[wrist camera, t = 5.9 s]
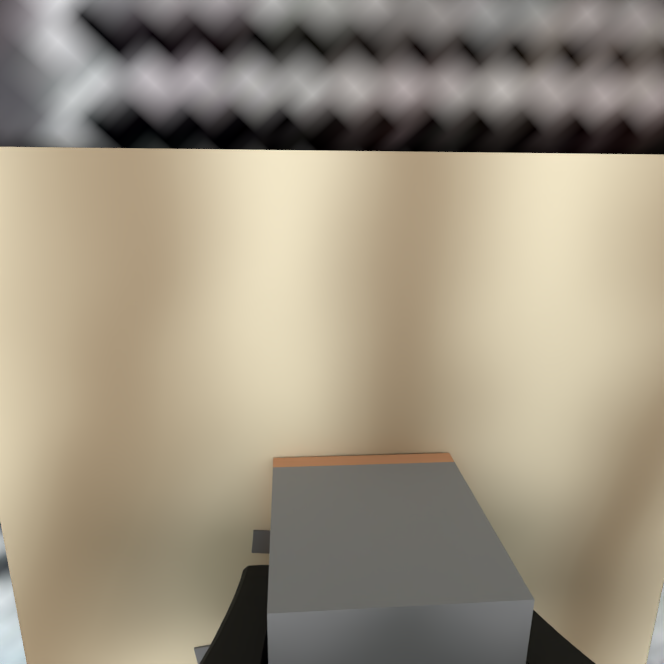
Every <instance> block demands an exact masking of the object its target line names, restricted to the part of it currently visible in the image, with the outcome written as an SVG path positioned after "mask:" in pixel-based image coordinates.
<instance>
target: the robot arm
mask: <svg viewBox="0 0 664 664" xmlns="http://www.w3.org/2000/svg"><path fill="white" fill-rule="evenodd" d="M268 578H269V565H249V566H247V567H246V568H245V569H244V570H243V572H242V575H241V579H240V582H239V585H238V587H237V590H236V592H235V595H234V597H233V600H232V602H231V604H230V606H229V609H228V611H227V613H226V615H225V617H224V619H223V621H222V623H221V625H220V627H219V629H218V631H217V633H216V635H215V637H214V639H213V641H212V643H211V645H210V646H209V648H208V650H207V652H206V653H205V655H204V657H203V658H202V660H201V662H200V664H268V632H267V603H268ZM526 664H595V663H594V662H593V661H592V660H590V659H589V658H588V657H587V656H585V655H584V654H583V653H582V652H581V651H580V650H578V649H577V648H576V647H575V646H574V645H572V644H571V643H570V642H569V641H568V640H567V639H565V638H564V637H563V636H562V635H561V634H560V633H558V632H557V631H556V630H555V629H554V628H553V627H552V626H551V625H550V624H548V623H547V622H546V621H545V620H544V619H543V618H542V617H541V616H540V615H539V614H538V613H537V612H536V611H534V610H533V615H532V622H531V629H530V636H529V643H528V650H527V657H526Z"/></svg>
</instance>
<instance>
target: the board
mask: <svg viewBox="0 0 664 664" xmlns="http://www.w3.org/2000/svg"><path fill="white" fill-rule="evenodd" d="M431 453H450V455H451V457H452V458H453V460H454V462H455V464H456V465H457V467H458V469H459V471H460V472H461V474H462V476H463V477H464V479H465V481H466V483H467V484H468V486H469V488H470V489H471V491H472V493H473V495H474V496H475V498H476V500H477V501H478V503H479V505H480V507H481V508H482V510H483V512H484V514H485V515H486V517H487V519H488V520H489V522H490V524H491V526H492V527H493V529H494V531H495V532H496V534H497V536H498V538H499V539H500V541H501V543H502V544H503V546H504V548H505V550H506V551H507V553H508V555H509V557H510V558H511V560H512V562H513V563H514V565H515V567H516V569H517V570H518V572H519V574H520V575H521V577H522V579H523V581H524V582H525V584H526V586H527V587H528V589H529V591H530V593H531V594H532V596H533V598H534V600H535V601H534V608H533V610H534V611H536V612H537V613H538V614H539V615H540V616H541V617H542V618H543V619H544V620H545V621H546V622H547V623H548V624H550V625H551V626H552V627H553V628H554V629H555V630H556V631H557V632H558V633H560V634H561V635H562V636H563V637H564V638H565V639H567V640H568V641H569V642H570V643H571V644H572V645H574V646H575V647H576V648H577V649H578V650H580V651H581V652H582V653H583V654H584V655H585V656H587V657H588V658H589V659H590V660H592V661H593V662H594V663H595V664H646V662H647V658H648V653H649V648H650V644H651V639H652V634H653V630H654V625H655V620H656V615H657V611H658V606H659V601H660V597H661V592H662V587H663V583H664V155H649V154H565V153H480V152H396V151H312V150H227V149H143V148H58V147H0V522H1V527H2V532H3V538H4V543H5V549H6V554H7V559H8V565H9V570H10V576H11V581H12V586H13V592H14V597H15V602H16V608H17V613H18V619H19V624H20V629H21V635H22V640H23V646H24V651H25V656H26V662H27V664H200V662H201V660H202V658H203V657H204V655H205V653H206V652H207V650H208V648H209V646H210V645H211V643H212V641H213V639H214V637H215V635H216V633H217V631H218V629H219V627H220V625H221V623H222V621H223V619H224V617H225V615H226V613H227V611H228V609H229V606H230V604H231V602H232V600H233V597H234V595H235V592H236V590H237V587H238V585H239V582H240V579H241V575H242V572H243V570H244V569H245V568H246V567H247V566H249V565H269V552H270V527H271V502H272V477H273V458H294V457H328V456H362V455H397V454H431Z"/></svg>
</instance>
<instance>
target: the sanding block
mask: <svg viewBox="0 0 664 664" xmlns="http://www.w3.org/2000/svg"><path fill="white" fill-rule="evenodd" d="M534 601H535V600H534V598H533V596H532V594H531V593H530V591H529V589H528V587H527V586H526V584H525V582H524V581H523V579H522V577H521V575H520V574H519V572H518V570H517V569H516V567H515V565H514V563H513V562H512V560H511V558H510V557H509V555H508V553H507V551H506V550H505V548H504V546H503V544H502V543H501V541H500V539H499V538H498V536H497V534H496V532H495V531H494V529H493V527H492V526H491V524H490V522H489V520H488V519H487V517H486V515H485V514H484V512H483V510H482V508H481V507H480V505H479V503H478V501H477V500H476V498H475V496H474V495H473V493H472V491H471V489H470V488H469V486H468V484H467V483H466V481H465V479H464V477H463V476H462V474H461V472H460V471H459V469H458V467H457V465H456V464H455V462H454V460H453V458H452V457H451V455H450V453H431V454H397V455H362V456H328V457H294V458H273V477H272V502H271V527H270V552H269V578H268V603H267V632H268V664H526V657H527V650H528V643H529V636H530V629H531V622H532V615H533V608H534Z"/></svg>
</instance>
